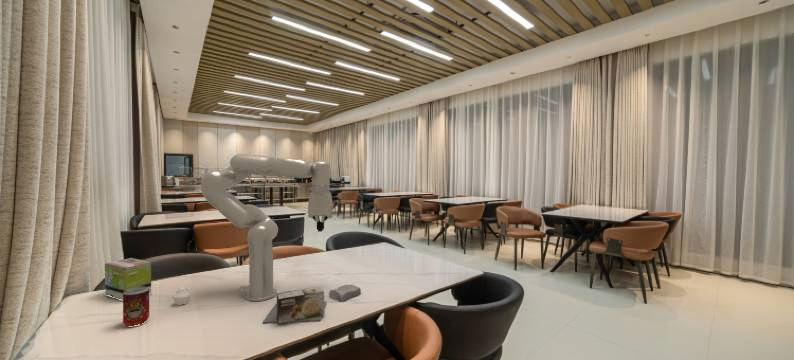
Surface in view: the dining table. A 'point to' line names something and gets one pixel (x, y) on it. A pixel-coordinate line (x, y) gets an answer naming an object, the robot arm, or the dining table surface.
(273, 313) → the rubber mat
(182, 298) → the muffin
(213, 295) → the dining table surface
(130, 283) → the tea box
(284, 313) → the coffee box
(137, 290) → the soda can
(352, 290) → the stone block
